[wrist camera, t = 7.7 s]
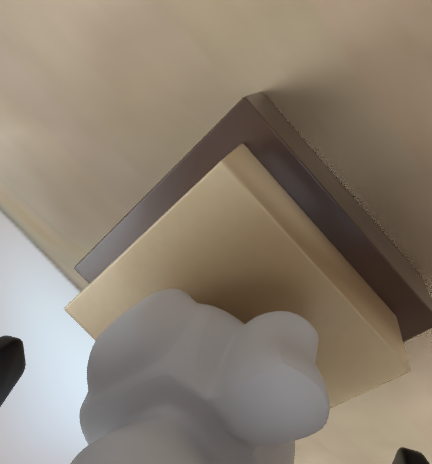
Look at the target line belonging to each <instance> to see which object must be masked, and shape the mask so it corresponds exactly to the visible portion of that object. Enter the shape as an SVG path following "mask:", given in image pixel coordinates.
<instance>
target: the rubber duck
mask: <svg viewBox="0 0 432 464" xmlns="http://www.w3.org/2000/svg"><path fill="white" fill-rule="evenodd" d="M318 341H319V337H318V333H317V331H316V330H315V328H314V327H313V326H312V325H311V324H310V323H309V322H308V321H307V320H306V319H304V318H303V317H301V316H300V315H298V314H294V313H291V312H287V311H274V312H269V313H264V314H262V315H259V316H257V317H255V318H253V319H252V320H250V321H249V322H247V323H246V324H244V323H243V322H241V321H240V320H239V319H237V318H236V317H234V316H233V315H231V314H229V313H228V312H226V311H224V310H222V309H220V308H217V307H215V306H211V305H207V304H200V303H197V302H196V301H194V300H193V299H192V298H191V297H190V296H189V295H188V294H187V293H186V292H184V291H182V290H179V289H164V290H160V291H158V292H155V293H153V294H151V295H150V296H148V297H146V298H145V299H143V300H142V301H140V302H139V303H138V304H136V305H135V306H133V307H132V308H130V309H129V310H127V311H126V312H124V313H123V314H122V315H120V316H119V317H118V318H117V319H116V320H115V321H114V322H113V323H112V324H110V325H109V326H108V327H107V328H106V329H105V330H104V331H103V332H102V333H101V334H100V335H99V337H98V338H97V340H96V342H95V344H94V346H93V348H92V350H91V353H90V357H89V361H88V367H87V381H88V394H87V396H86V398H85V400H84V402H83V404H82V406H81V409H80V424H81V428H82V432H83V434H84V436H85V439H86V441H87V443H88V444H89V445H88V446H87V447H86V448H84V449H83V450H82V451H81V452H80V453H79V454H78V455H77V456H76V457H75V459H74V460H73V461H72V463H71V464H294V453H295V440H298V439H301V438H304V437H307V436H309V435H311V434H314V433H316V432H317V431H319V430H320V429H322V427H323V426H324V425H325V424H326V422H327V419H328V416H329V410H330V402H329V395H328V391H327V387H326V383H325V381H324V379H323V377H322V375H321V373H320V371H319V370H318V368H317V366H316V365H315V362H316V355H317V349H318Z"/></svg>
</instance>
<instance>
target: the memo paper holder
mask: <svg viewBox="0 0 432 464" xmlns="http://www.w3.org/2000/svg"><path fill="white" fill-rule="evenodd" d="M75 269H76V270H77V271H78V273H79V274H80V275H81V276H82V277H83V278H84V279H85V280H86V281H87V282H88V283H89V285H88V286H87V287H86V288H85V289H84V290H83V291H82V292H81V293H80V294H78V295H77V296H76V297H75V298H74V299H73V300H72V301H71V302H70V303H69V304H68V305H67V306H66V307H65V311H66V312H67V313H68V314H69V315H70V316H71V317H72V318H73V319H74V320H75V321H76V322H77V323H78V324H79V325H80V326H81V327H82V328H84V330H85V331H86V332H87V333H88V334H90V335H91V336H92V338H93V339H95V340H97V338H98V337H99V335H100V334H101V333H102V332H103V331H104V330H105V329H106V328H107V327H108V326H109V325H110V324H112V323H113V322H114V321H115V320H116V319H117V318H118V317H119V316H120V315H122V314H123V313H124V312H126V311H127V310H129V309H130V308H132V307H133V306H135V305H136V304H138V303H139V302H140V301H142V300H143V299H145V298H146V297H148V296H150V295H151V294H153V293H155V292H158V291H160V290H164V289H179V290H182V291H184V292H186V293H187V294H188V295H189V296H190V297H191V298H192V299H193V300H194V301H196V302H197V303H200V304H207V305H211V306H215V307H217V308H220V309H222V310H224V311H226V312H228V313H229V314H231V315H233V316H234V317H236V318H237V319H239V320H240V321H241V322H243V323H244V324H246V323H247V322H249V321H250V320H252V319H253V318H255V317H257V316H259V315H262V314H264V313H269V312H274V311H287V312H291V313H294V314H298V315H300V316H301V317H303V318H304V319H306V320H307V321H308V322H309V323H310V324H311V325H312V326H313V327H314V328H315V330H316V331H317V333H318V337H319V341H318V349H317V355H316V362H315V365H316V366H317V368H318V370H319V371H320V373H321V375H322V377H323V379H324V381H325V383H326V387H327V391H328V395H329V402H330V408H332V407H334V406H336V405H338V404H341V403H343V402H345V401H347V400H349V399H351V398H353V397H356V396H358V395H360V394H362V393H364V392H366V391H369V390H371V389H373V388H375V387H377V386H379V385H382V384H384V383H386V382H388V381H390V380H392V379H395V378H397V377H399V376H401V375H403V374H405V373H407V372H409V371H410V366H409V363H408V359H407V355H406V351H405V347H404V343H403V342H405V341H407V340H409V339H411V338H413V337H415V336H417V335H419V334H421V333H423V332H424V331H426V330H428V329H430V328H432V299H431V297H430V295H429V292H428V290H427V288H426V285H425V283H424V281H423V278H422V276H421V275H420V274H419V273H418V272H417V270H416V269H415V268H414V267H413V266H412V265H411V264H410V262H409V261H408V260H407V259H406V258H405V257H404V255H403V254H402V253H401V252H400V251H399V250H398V248H397V247H396V246H395V245H394V244H393V243H392V242H391V240H390V239H389V238H388V237H387V236H386V235H385V233H384V232H383V231H382V230H381V229H380V228H379V226H378V225H377V224H376V223H375V222H374V221H373V219H372V218H371V217H370V216H369V215H368V214H367V213H366V211H365V210H364V209H363V208H362V207H361V206H360V204H359V203H358V202H357V201H356V200H355V199H354V197H353V196H352V195H351V194H350V193H349V192H348V191H347V189H346V188H345V187H344V186H343V185H342V184H341V182H340V181H339V180H338V179H337V178H336V177H335V175H334V174H333V173H332V172H331V171H330V170H329V168H328V167H327V166H326V165H325V164H324V163H323V162H322V160H321V159H320V158H319V157H318V156H317V155H316V153H315V152H314V151H313V150H312V149H311V148H310V146H309V145H308V144H307V143H306V142H305V141H304V140H303V138H302V137H301V136H300V135H299V134H298V133H297V131H296V130H295V129H294V128H293V127H292V126H291V124H290V123H289V122H288V121H287V120H286V119H285V118H284V116H283V115H282V114H281V113H280V112H279V111H278V109H277V108H276V107H275V106H274V105H273V104H272V102H271V101H270V100H269V99H268V98H267V97H266V95H265V94H264V93H263V92H262V91H261V92H258V93H255V94H252V95H249V96H246V97H244V98H242V99H241V100H240V101H239V102H238V104H237V105H236V106H235V107H234V108H233V109H232V110H231V111H230V112H229V113H228V114H227V115H226V116H225V117H224V118H223V119H222V120H221V121H220V122H219V123H218V124H217V125H216V126H215V127H214V128H213V129H212V130H211V131H210V132H209V133H208V134H207V135H206V136H205V137H204V138H203V139H202V140H201V141H200V142H199V143H198V144H197V145H196V146H195V147H194V148H193V149H192V150H191V151H190V152H189V153H188V154H187V155H186V156H185V157H184V158H183V159H182V160H181V161H180V162H179V163H178V164H177V165H176V166H175V167H174V168H173V169H172V170H171V171H170V172H169V173H168V174H167V175H166V176H165V177H164V178H163V179H162V180H161V181H160V182H159V183H158V184H157V185H156V186H155V187H154V188H153V189H152V190H151V191H150V192H149V193H148V194H147V195H146V196H145V197H144V198H143V199H142V200H141V201H140V202H139V203H138V204H137V205H136V206H135V207H134V208H133V209H132V210H131V211H130V212H129V213H128V214H127V215H126V216H125V217H124V218H123V219H122V220H121V221H120V222H119V223H118V224H117V225H116V226H115V227H114V228H113V229H112V230H111V231H110V232H109V233H108V234H107V235H106V236H105V237H104V238H103V239H102V240H101V241H100V242H99V243H98V244H97V245H96V246H95V247H94V248H93V249H92V250H91V251H90V252H89V253H88V254H87V255H86V256H85V257H84V258H83V259H82V260H81V261H80V262H79V263H78V264H77V265H76V266H75Z"/></svg>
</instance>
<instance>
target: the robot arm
mask: <svg viewBox="0 0 432 464" xmlns="http://www.w3.org/2000/svg"><path fill="white" fill-rule="evenodd" d="M25 365H26V363H25V356H24V348H23V342H22V341H21V340H20V339H19V338H15V337H12V336H2V337H0V406H1V405H2V403H3V402H4V401H5V399H6V398H7V396H8V395H9V393H10V392H11V390H12V389H13V387H14V386H15V384H16V383H17V381H18V380H19V378H20V377H21V376H22V374H23V372H24V369H25ZM392 464H429V462H428V461H427V459H426V458H425V457H424V455H423V454H422V453H420V452H418V451H414V450H411V449H407V448H404V447H402V448H400V449H399V450H398V451H397V454H396V456H395V458H394V461H393V463H392Z"/></svg>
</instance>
